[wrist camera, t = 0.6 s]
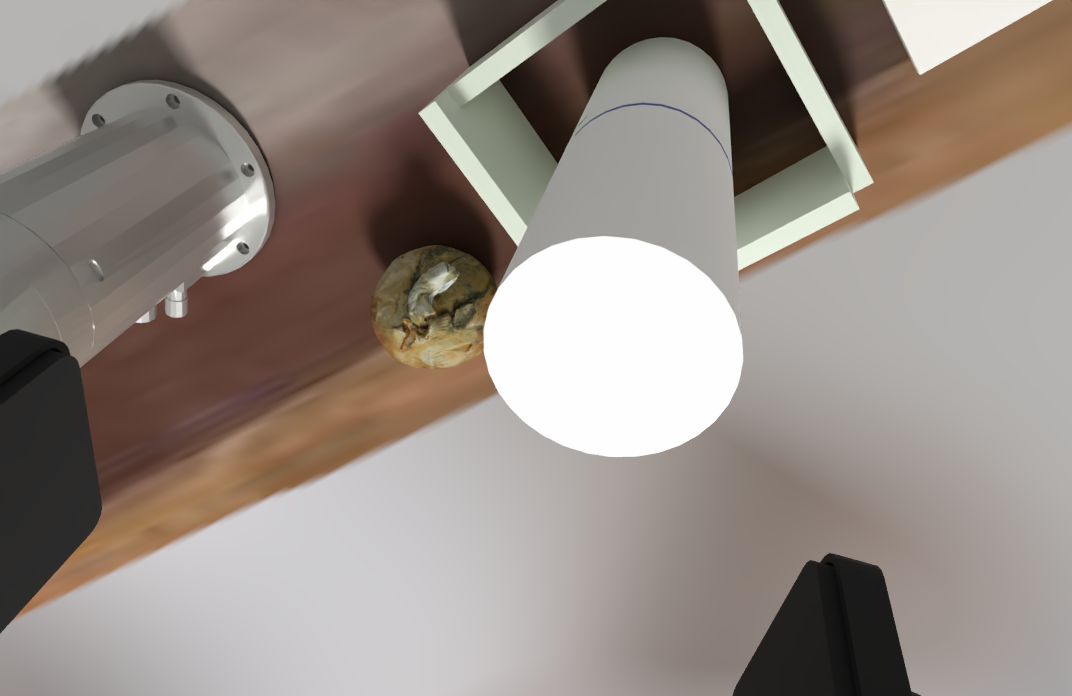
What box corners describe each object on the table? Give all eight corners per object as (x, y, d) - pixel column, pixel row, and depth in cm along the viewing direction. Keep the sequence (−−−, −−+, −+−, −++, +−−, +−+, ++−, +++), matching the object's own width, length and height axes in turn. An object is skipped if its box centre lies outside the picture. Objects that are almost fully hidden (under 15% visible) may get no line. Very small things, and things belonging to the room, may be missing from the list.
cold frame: (618, 278, 48) (601, 357, 41) (469, 67, 43) (418, 113, 36) (857, 149, 42) (889, 215, 34) (714, -119, 37) (715, -110, 29)
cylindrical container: (754, 124, 42) (793, 394, 21) (641, 194, 45) (580, 489, 25) (681, 7, 40) (646, 183, 19) (567, 90, 43) (432, 318, 22)
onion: (371, 240, 50) (319, 301, 44) (487, 213, 48) (450, 272, 41) (415, 341, 54) (373, 410, 47) (525, 320, 51) (497, 390, 45)
